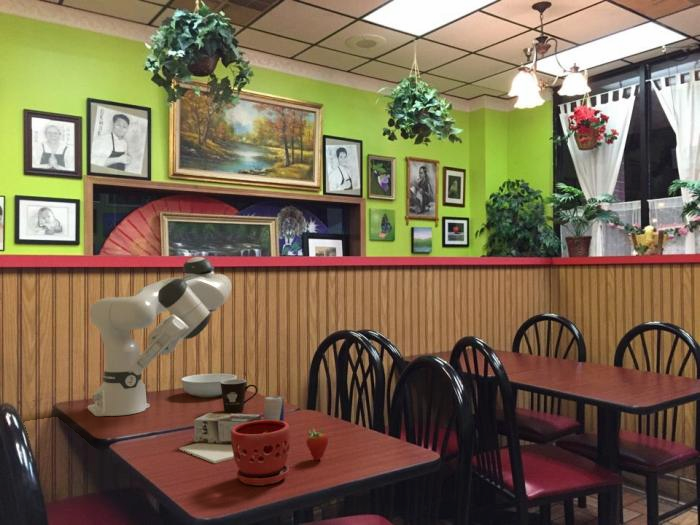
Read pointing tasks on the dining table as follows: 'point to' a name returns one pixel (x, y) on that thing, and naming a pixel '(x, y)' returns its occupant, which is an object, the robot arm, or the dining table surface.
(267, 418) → the energy drink
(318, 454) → the fruit
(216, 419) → the coffee box
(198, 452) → the mat
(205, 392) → the serving bowl
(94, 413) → the robot arm
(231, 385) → the coffee mug
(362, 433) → the dining table surface
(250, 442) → the plant pot
